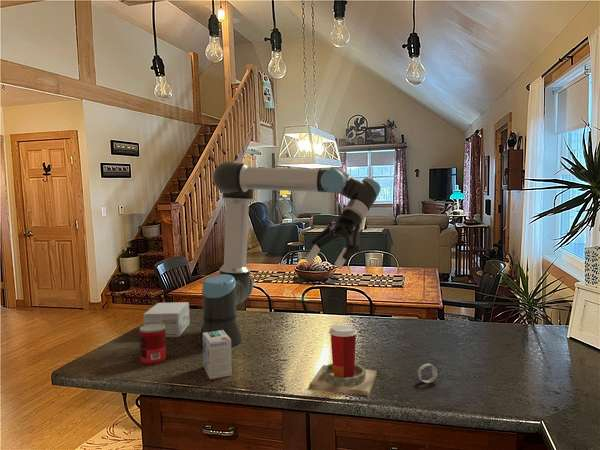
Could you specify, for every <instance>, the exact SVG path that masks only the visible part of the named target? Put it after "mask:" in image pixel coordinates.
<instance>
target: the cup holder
mask: <svg viewBox="0 0 600 450" xmlns="http://www.w3.org/2000/svg"><path fill="white" fill-rule="evenodd" d="M377 373H378V371H377V370H374V369H366V368H364V367H363V366H362V365H360V364H357V363H355V366H354V377H348V378H342V377H335V376H334V374H333V362H332V363H330V364H326V365H325V364H322V365H321V367H320V368H319V370H318V371H317V372H316V374H315V375H314V377H313V378H312V380H311V381H310V383H309V386H308V387H309V389H311V390H318V391H326V392H335V393H341V394H342V393H345V394H350V395H359V396H365V397H366V396H367V397H369V396H370V393H371V391H372V390H373V389H372V388H373V386H374V383H375V380H376V377H377Z"/></svg>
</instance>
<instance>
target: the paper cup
mask: <svg viewBox="0 0 600 450" xmlns="http://www.w3.org/2000/svg"><path fill="white" fill-rule="evenodd" d="M328 334H329V335H330V344H331V345H330V346H331V358H332V363H333V374H334V376H335V377H342V378H348V377H354V366H355V364H356V339H357V335H358V330H357V329H356V327H355V326H354V325H351V324H346V323H345V324H343V323H341V324H334V325H333V326H332V325H331V327H330V329H329V331H328Z"/></svg>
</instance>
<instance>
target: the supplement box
mask: <svg viewBox="0 0 600 450" xmlns="http://www.w3.org/2000/svg"><path fill="white" fill-rule="evenodd" d="M148 324H164V325H165V330H166V338H178V337H180V336H181V335H182V333H183V332H185V330H186V328H187V327H188V326H189V325H190V324H191V323H190V303H189V302H188V301H186V302H185V301H183V302H182V301H181V302H179V301H178V302H157V303H156V304H154V305H152V307H151V308H150V309H148V310H147V311H146V312H144V313H143V326H144V325H148Z"/></svg>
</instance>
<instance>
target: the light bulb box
mask: <svg viewBox="0 0 600 450" xmlns="http://www.w3.org/2000/svg"><path fill="white" fill-rule="evenodd" d="M202 334H203V347H202V362H203V363H202V364H203V365H202V367H203V368H204V371H205V372H206V374H207V377H208V378H209V380H212V379H219V378H225V377H230V376H232V375H233V371H232V370H233V369H232V365H233V363H232V347H231V339H230V338H229V336H228V335H227V334H226V333H225V332H224V331H223V330H219V331H213V332H206V333H202Z"/></svg>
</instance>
